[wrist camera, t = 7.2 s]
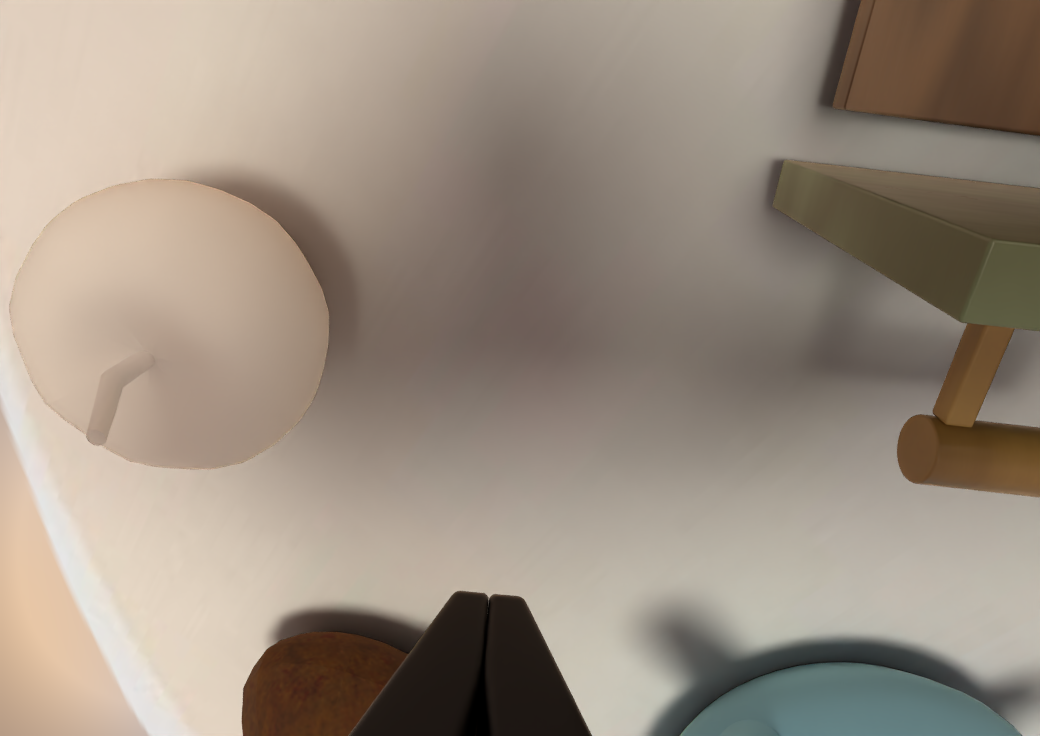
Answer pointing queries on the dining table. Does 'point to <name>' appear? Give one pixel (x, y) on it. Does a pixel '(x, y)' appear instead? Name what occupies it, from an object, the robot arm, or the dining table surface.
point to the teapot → (846, 706)
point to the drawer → (944, 214)
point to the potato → (316, 684)
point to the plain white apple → (171, 324)
